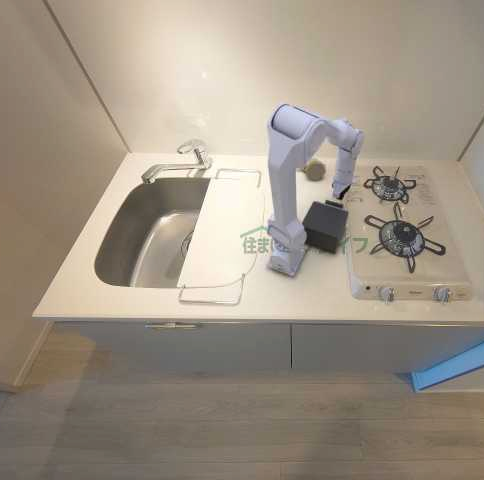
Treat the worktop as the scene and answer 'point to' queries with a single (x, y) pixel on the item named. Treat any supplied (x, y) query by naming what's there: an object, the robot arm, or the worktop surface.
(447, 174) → the worktop surface
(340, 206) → the drawer
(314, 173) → the mug
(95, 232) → the worktop surface
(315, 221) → the cabinet
